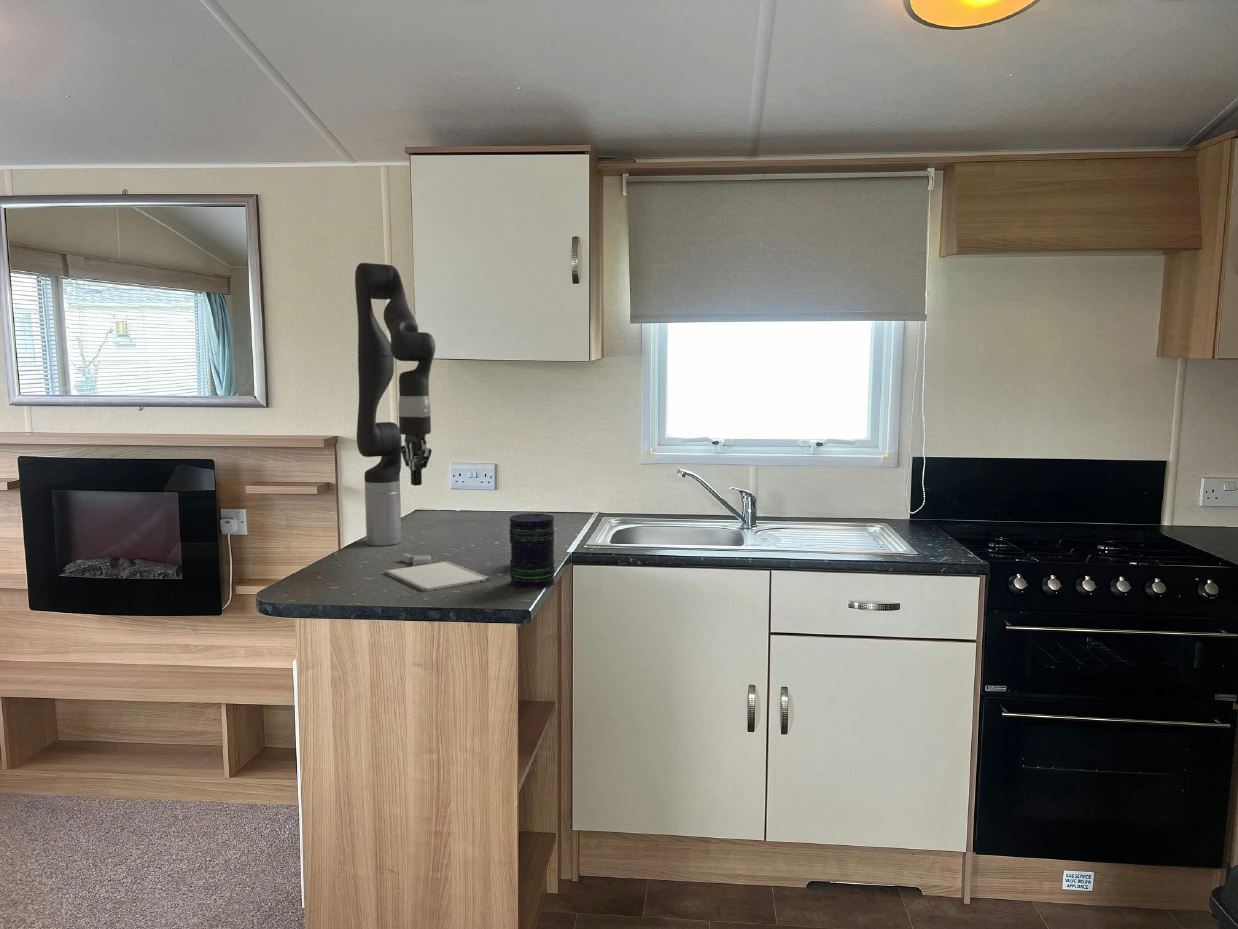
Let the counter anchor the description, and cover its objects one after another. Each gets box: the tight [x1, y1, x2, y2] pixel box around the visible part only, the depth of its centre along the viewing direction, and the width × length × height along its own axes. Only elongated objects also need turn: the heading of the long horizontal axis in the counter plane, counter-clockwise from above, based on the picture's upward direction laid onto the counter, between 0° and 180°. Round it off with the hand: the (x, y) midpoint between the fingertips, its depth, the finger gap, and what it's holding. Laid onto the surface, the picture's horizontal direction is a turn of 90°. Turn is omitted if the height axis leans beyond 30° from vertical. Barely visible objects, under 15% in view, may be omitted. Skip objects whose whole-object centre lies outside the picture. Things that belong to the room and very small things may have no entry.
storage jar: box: [509, 513, 556, 590], centre depth 184 cm, size 10×10×15 cm
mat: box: [384, 560, 490, 592], centre depth 191 cm, size 21×16×1 cm
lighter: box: [401, 553, 432, 567], centre depth 205 cm, size 7×2×8 cm
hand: (416, 485), depth 205 cm, fingers closed
